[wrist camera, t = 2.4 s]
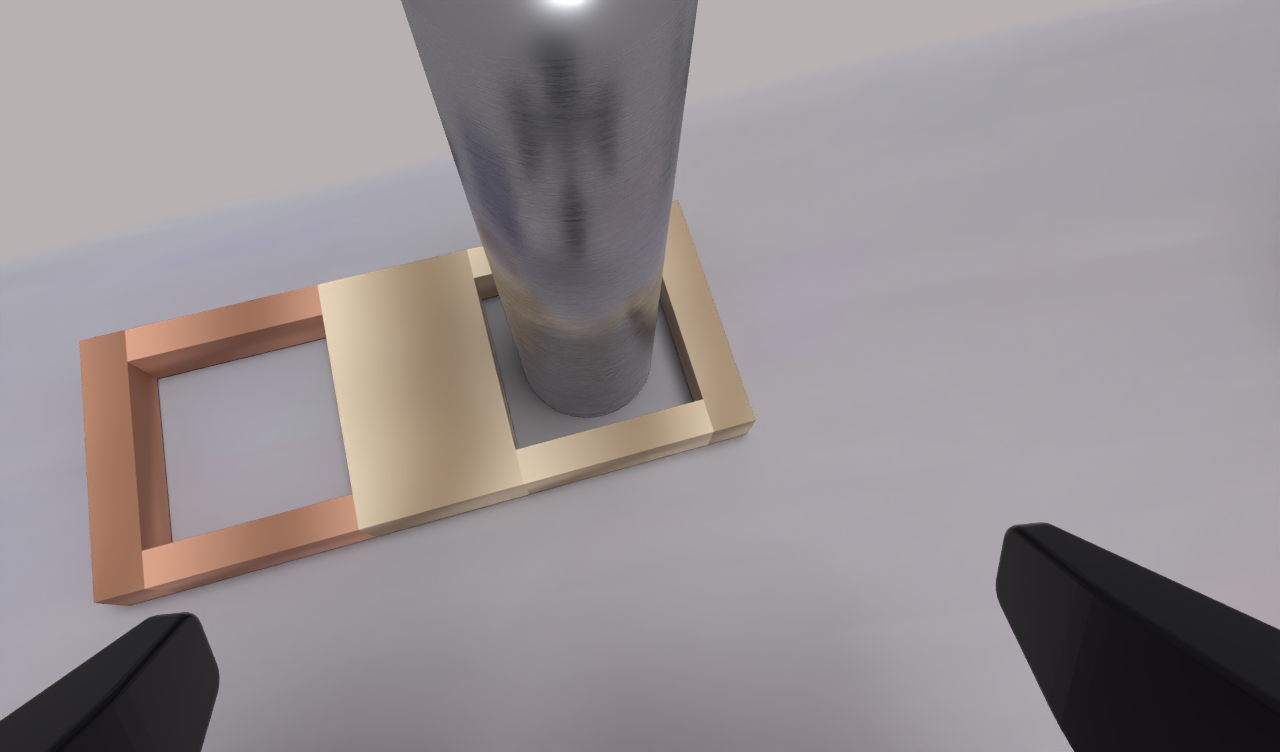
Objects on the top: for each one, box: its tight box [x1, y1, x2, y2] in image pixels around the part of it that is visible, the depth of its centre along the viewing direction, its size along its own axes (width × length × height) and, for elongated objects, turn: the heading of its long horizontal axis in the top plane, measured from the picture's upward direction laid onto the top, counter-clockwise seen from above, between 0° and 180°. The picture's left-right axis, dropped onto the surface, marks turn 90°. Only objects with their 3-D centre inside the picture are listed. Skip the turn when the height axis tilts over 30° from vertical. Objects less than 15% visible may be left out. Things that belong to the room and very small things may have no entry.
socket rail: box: [80, 200, 755, 606], centre depth 22 cm, size 18×8×2 cm, turn 106°
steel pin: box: [401, 0, 698, 417], centre depth 17 cm, size 4×4×15 cm
